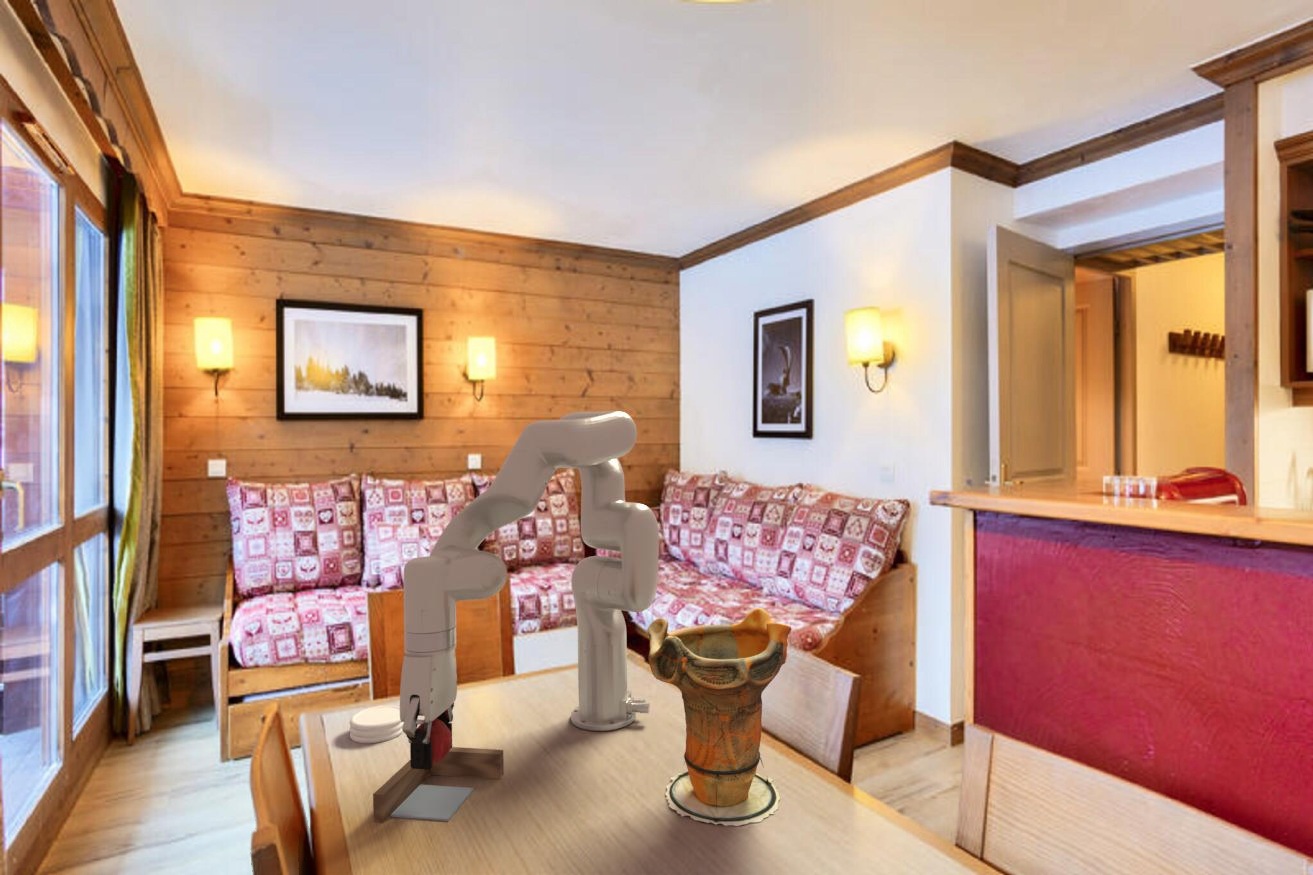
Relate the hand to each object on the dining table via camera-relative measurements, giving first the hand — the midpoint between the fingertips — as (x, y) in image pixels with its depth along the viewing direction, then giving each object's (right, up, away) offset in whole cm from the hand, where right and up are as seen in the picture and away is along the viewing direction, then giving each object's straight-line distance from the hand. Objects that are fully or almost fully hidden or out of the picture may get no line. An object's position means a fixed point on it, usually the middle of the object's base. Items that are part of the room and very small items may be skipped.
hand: (432, 757), depth 107 cm
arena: (+1, -7, +2) cm, 7 cm away
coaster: (-19, -8, +26) cm, 33 cm away
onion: (0, -2, 0) cm, 2 cm away
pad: (0, -7, 0) cm, 7 cm away
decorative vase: (+44, -7, +1) cm, 45 cm away
